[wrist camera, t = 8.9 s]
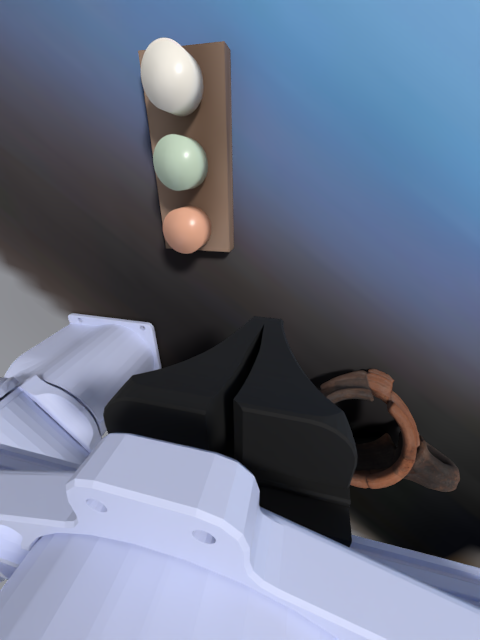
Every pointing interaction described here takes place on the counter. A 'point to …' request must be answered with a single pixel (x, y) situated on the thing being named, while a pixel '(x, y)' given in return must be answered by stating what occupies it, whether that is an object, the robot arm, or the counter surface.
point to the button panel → (203, 144)
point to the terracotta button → (187, 229)
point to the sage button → (180, 162)
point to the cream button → (171, 77)
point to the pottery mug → (382, 455)
